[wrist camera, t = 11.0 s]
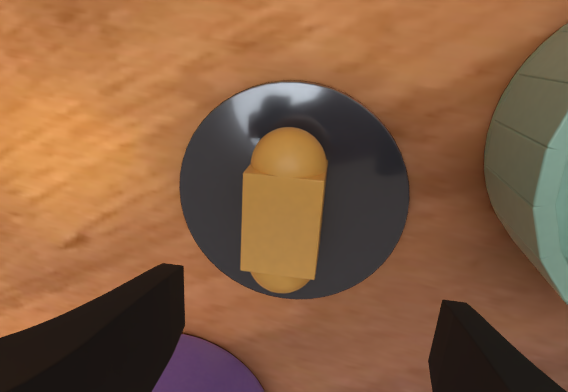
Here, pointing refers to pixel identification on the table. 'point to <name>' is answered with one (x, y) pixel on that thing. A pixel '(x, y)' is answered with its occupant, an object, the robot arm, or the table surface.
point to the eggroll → (283, 209)
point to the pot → (534, 160)
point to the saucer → (338, 191)
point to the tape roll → (205, 370)
